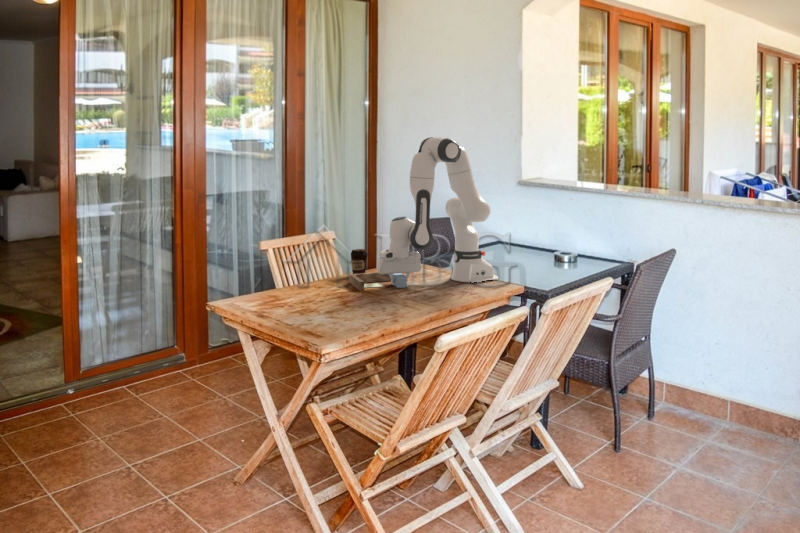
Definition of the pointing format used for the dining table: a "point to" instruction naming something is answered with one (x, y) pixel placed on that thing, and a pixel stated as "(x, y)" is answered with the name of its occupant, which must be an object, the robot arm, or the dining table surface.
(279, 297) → the dining table surface
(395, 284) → the block
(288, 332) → the dining table surface
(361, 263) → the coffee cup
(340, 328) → the dining table surface
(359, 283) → the brown l-shaped corner fence
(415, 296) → the dining table surface
